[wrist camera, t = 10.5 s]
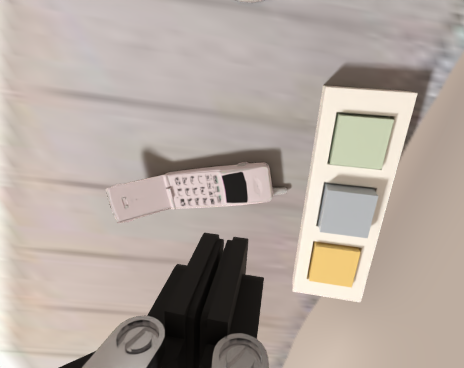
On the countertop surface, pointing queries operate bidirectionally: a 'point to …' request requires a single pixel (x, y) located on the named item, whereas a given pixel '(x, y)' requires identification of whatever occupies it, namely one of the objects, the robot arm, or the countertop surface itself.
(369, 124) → the key sage
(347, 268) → the key ochre
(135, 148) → the countertop surface
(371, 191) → the key slate
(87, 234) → the countertop surface
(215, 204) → the mobile phone
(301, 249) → the keypad
